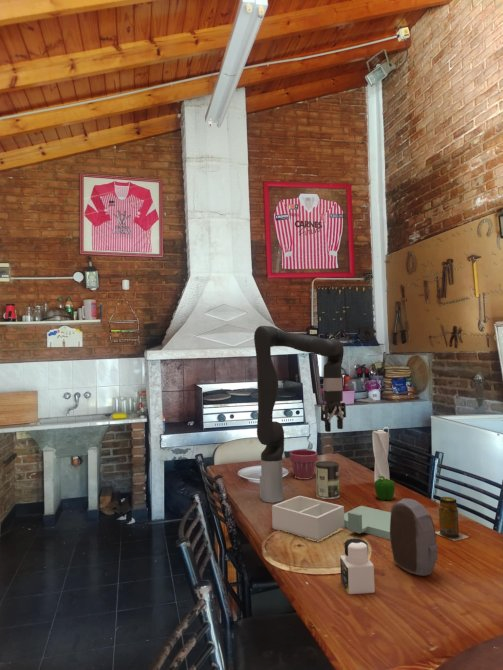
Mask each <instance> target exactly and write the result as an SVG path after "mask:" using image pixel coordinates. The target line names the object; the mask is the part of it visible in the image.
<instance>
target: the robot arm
mask: <svg viewBox="0 0 503 670" xmlns="http://www.w3.org/2000/svg"><path fill="white" fill-rule="evenodd" d="M253 341H254V343H253V344H254V349H255V350H254V351H255V357H256V376H257V377H256V379H257V381H256V383H257V384H256V385H257V386H256V387H257V421H256V422H257V424H256V425H257V426H256V435H257V439H258V441H259V443H260V444H262V445H264V446H265V448H264V449H263V451H262V452H261V453H260V466H261V467H260V470H261V475H260V476H259V499H260V500H261V501H263V502H265V503H270V504H271V503H272V504H273V503H274V504H275V503H281V502H283V501H284V483H283V482H284V481H283V480H284V478H283V477H284V475H283V470H284V469H283V455H284V451H285V430H284V426H283V425H282V424H281V423H280V422H279V421H276V420H275V421H274V420H273V411H274V407H275V405H276V402H277V399H278V395H279V375H278V372H277V369H276V368H275V365H274V363H273V361H272V353H271V350H272V349H271V348H273V347H286V348H287V347H288V348H291V349H294V350H297V351H300V352H303V353H309V354H315V355H319V356H322V357H326V358H327V362H326V363H325V364H324V365H323V382H322V383H323V386H322V388H323V402H325V403H326V404H322V405H320V422H321V421H323V422H324V431H325V433H326V432H327V433H330V432H331V431H332V430H331V429H332V426H331V424H332V422H331V421H332V419H333V418H334V416H335V417H336V427H337V429H338V430H342V429H344V421H343V420H344V419H345V418H347V412H346V411H347V408H346V407H347V406H346V403H345V402H343V400H344V399H343V398H344V395H343V389H344V388H343V380H342V378H343V377H342V364H343V358H344V353H345V351H344V345H343V343H342V342H341V341H340V340H338V339H332V338H322V337H321V338H320V337H318V336H315V335H310V334H301V333H295V332H294V333H293V332H288V331H286V330H282V329H279V328H277V327H274V326H271V325H259V326H258V327H257V328H256V329H255V332H254V336H253Z"/></svg>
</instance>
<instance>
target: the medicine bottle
mask: <svg viewBox="0 0 503 670" xmlns="http://www.w3.org/2000/svg"><path fill="white" fill-rule="evenodd" d="M368 545H369V544H368V542H367V541H365V540H363V539H360V538H349V539H346V540H345V542H344V554H343V555H340V556H339V558H340V559H339V561H340V563H339V564H340V567H339V568H340V582H341V584H342V586H343V587H344V589H345V591H346V593H347V594H348V595H361V594H374V593H375V565H374V564H373V563H372V560H371V559H369V552H368V551H369V550H368V548H369V547H368Z"/></svg>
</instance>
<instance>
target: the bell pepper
mask: <svg viewBox="0 0 503 670" xmlns="http://www.w3.org/2000/svg"><path fill="white" fill-rule="evenodd" d="M378 477H379V478H383V480H382V479H378V480H377V481H375V480H374V490H375V494H376V497H377V499H378V500H381V501H385V500H387V501H391V500H390V499H394V494H395V490H396V485H395V484H396V483H395V481H394V480H392V479H390V480H388V479H385V477H383V476H378Z"/></svg>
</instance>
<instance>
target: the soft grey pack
mask: <svg viewBox="0 0 503 670" xmlns="http://www.w3.org/2000/svg"><path fill="white" fill-rule="evenodd" d="M390 509H391V510H390V512H391V518H390V548H391V552H392V557H393V562H395V564H396V565H397V566H398V567H400V568H401V569H403V570H405V571H406V572H408V573H411V574H413V575H416V576H420V577H424V576H430V575H431V574H432V573H433V571H434V568H435V565H436V563H437V560H438V544H437V536H436V535H437V534H436V533H435V532H436V529H435V528H436V527H435V524H434V521H433V518H432V516H431V514H430V513H429V511H428V510H427V509H426V507H425V506H424V504H422V503H420V502H419V501H417V500H415V499H412V498H405V497H404V498H402V499H401V500H399V501H397V502H395V504H393V505H392V506H391V508H390Z"/></svg>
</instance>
